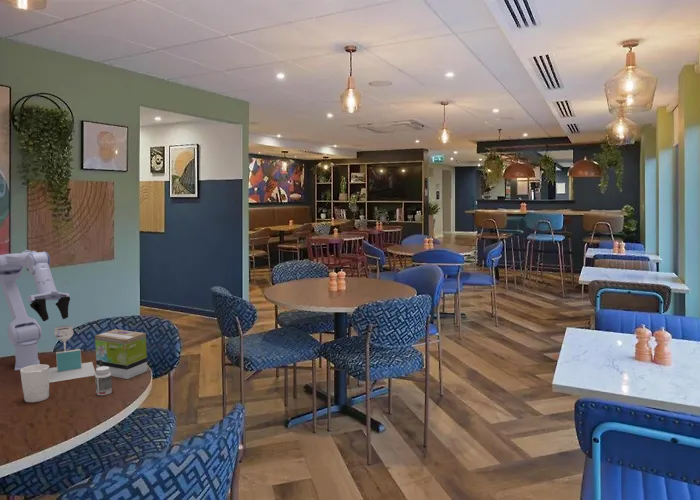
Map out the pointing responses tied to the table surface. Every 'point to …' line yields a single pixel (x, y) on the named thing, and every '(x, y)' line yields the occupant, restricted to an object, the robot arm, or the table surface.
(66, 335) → the wineglass
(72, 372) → the mat
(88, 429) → the table surface
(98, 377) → the pill bottle
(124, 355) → the tea box
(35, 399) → the white cup
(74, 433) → the table surface
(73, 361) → the tile
